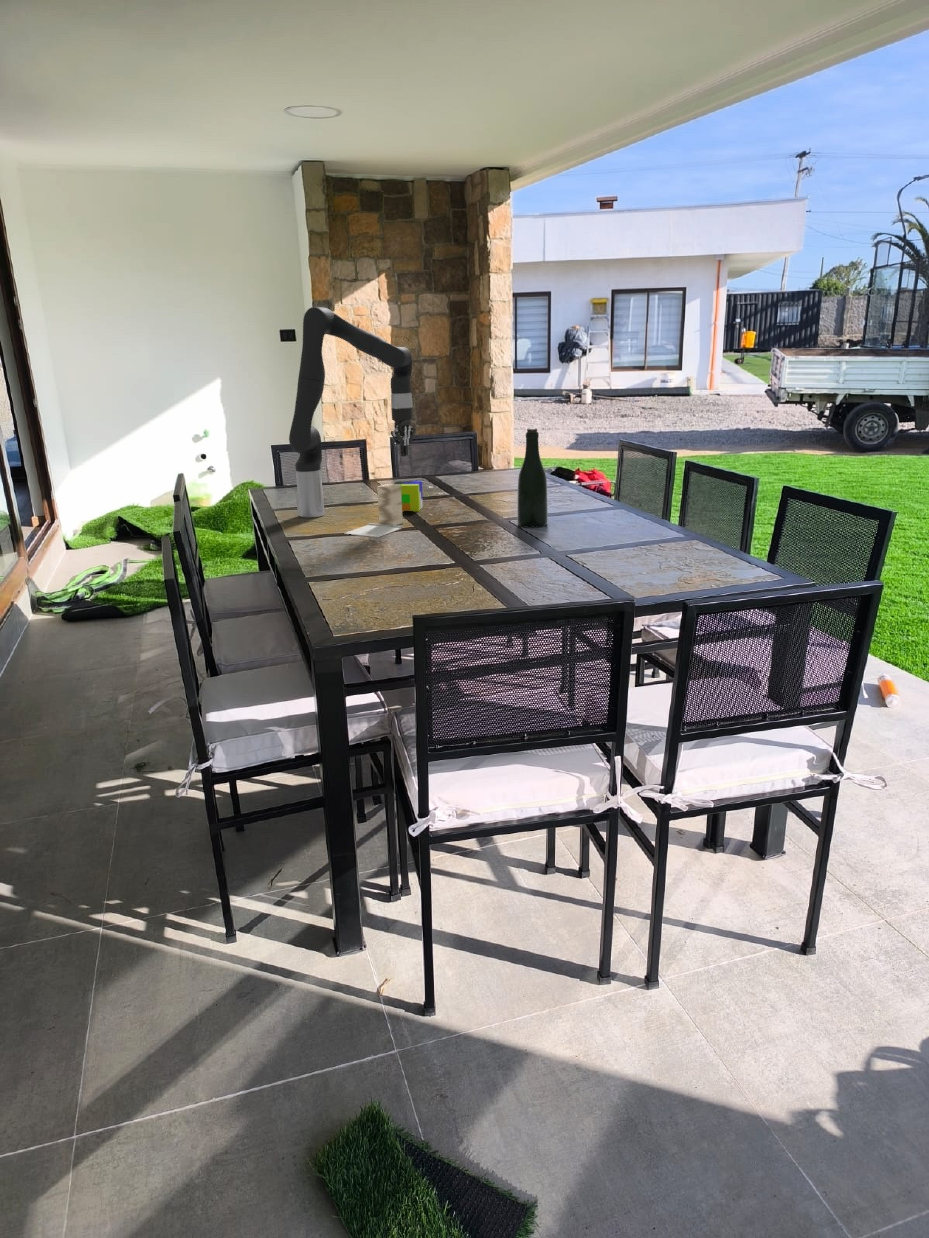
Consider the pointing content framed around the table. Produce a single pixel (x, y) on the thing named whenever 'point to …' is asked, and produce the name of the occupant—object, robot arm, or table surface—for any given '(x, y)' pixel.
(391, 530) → the mat
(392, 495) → the maple block
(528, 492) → the green wine bottle
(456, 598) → the table surface
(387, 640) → the table surface
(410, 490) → the puzzle toy
